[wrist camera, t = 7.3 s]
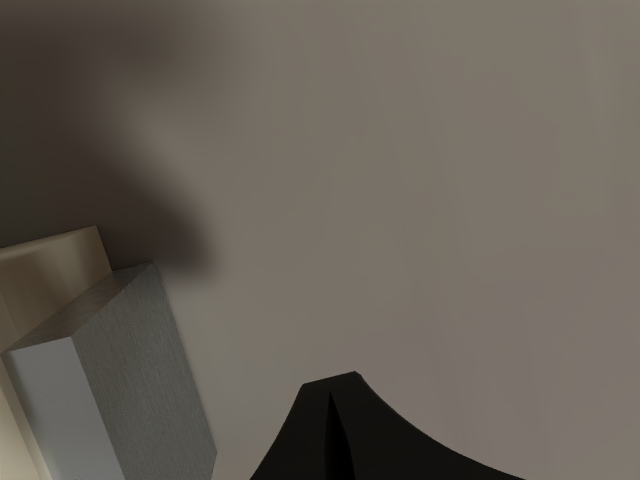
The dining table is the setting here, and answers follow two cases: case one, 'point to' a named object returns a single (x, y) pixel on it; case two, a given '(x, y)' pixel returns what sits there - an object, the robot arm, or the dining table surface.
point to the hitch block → (31, 310)
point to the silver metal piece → (113, 386)
